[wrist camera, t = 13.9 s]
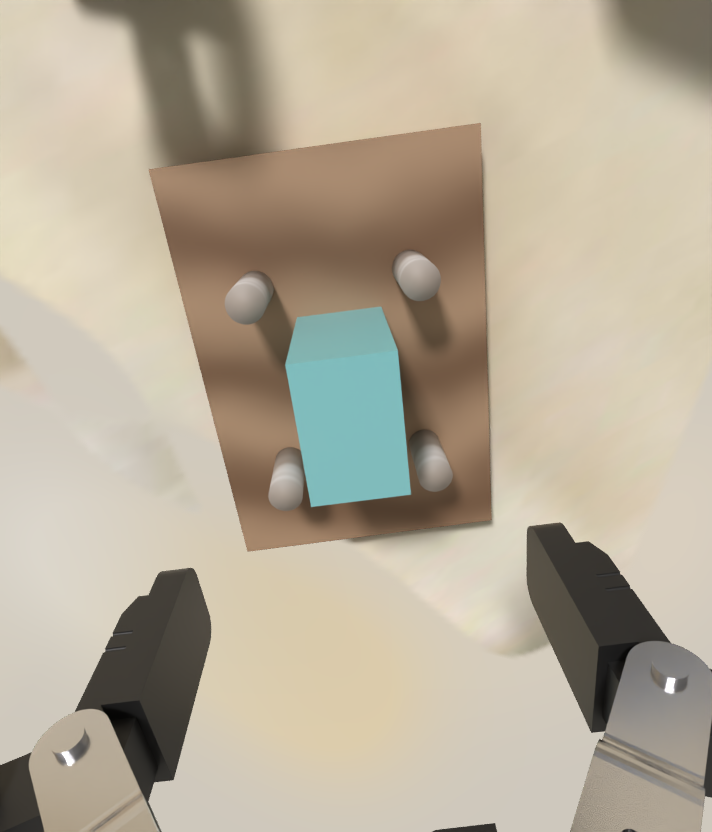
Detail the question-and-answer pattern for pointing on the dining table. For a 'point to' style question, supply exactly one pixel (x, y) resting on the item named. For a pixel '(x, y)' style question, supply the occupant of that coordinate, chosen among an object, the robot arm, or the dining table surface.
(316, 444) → the block
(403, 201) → the stub board
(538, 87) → the dining table surface
